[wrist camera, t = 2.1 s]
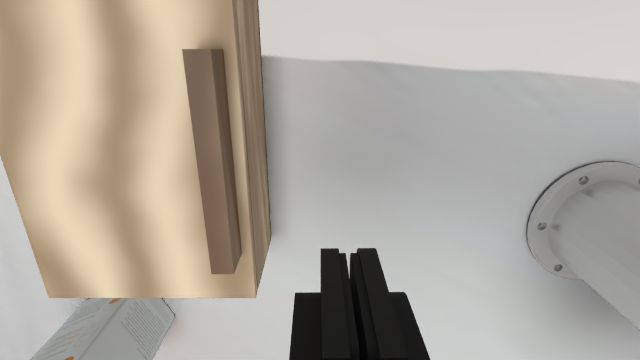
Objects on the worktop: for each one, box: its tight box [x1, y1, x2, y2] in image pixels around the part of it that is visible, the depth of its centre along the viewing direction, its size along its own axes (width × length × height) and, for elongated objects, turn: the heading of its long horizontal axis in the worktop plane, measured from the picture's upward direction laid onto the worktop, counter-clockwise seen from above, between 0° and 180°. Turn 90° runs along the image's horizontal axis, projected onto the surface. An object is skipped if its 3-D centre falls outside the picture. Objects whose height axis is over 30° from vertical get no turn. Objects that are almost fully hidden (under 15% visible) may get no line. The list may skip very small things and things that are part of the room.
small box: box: [30, 298, 175, 360], centre depth 32 cm, size 8×6×13 cm
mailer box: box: [235, 0, 271, 289], centre depth 28 cm, size 16×22×8 cm
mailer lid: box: [0, 0, 257, 298], centre depth 22 cm, size 16×22×3 cm
